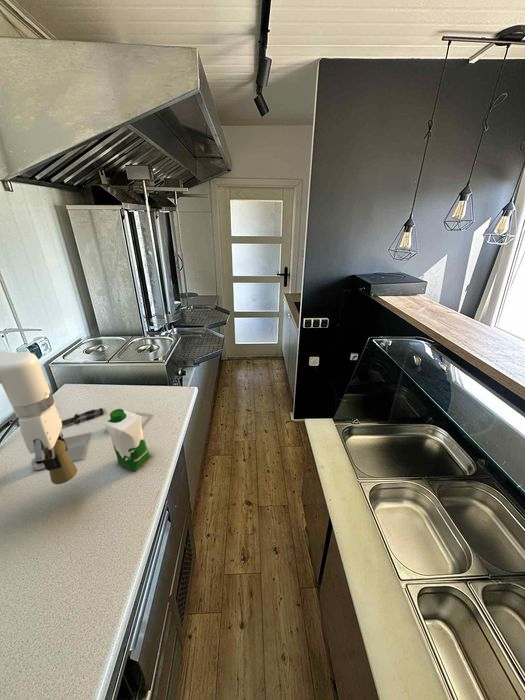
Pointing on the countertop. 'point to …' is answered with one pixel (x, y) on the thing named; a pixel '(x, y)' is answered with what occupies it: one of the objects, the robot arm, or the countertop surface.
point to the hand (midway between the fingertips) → (57, 459)
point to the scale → (70, 449)
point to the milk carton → (127, 438)
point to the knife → (67, 422)
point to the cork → (67, 468)
